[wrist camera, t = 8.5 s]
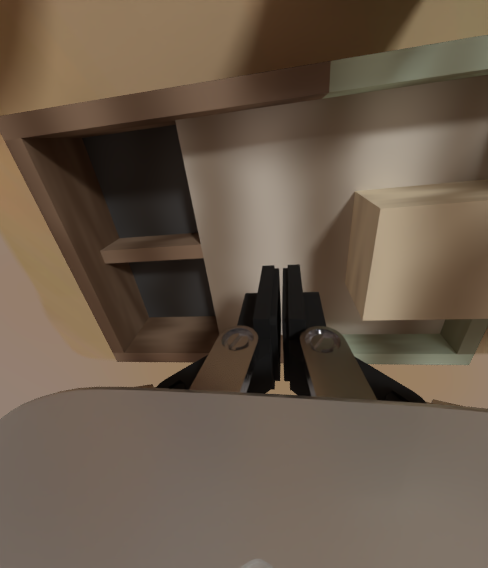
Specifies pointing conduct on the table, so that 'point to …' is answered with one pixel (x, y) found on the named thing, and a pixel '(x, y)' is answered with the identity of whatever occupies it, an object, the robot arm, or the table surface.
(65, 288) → the table surface
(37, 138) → the track
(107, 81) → the table surface
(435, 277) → the maple block
